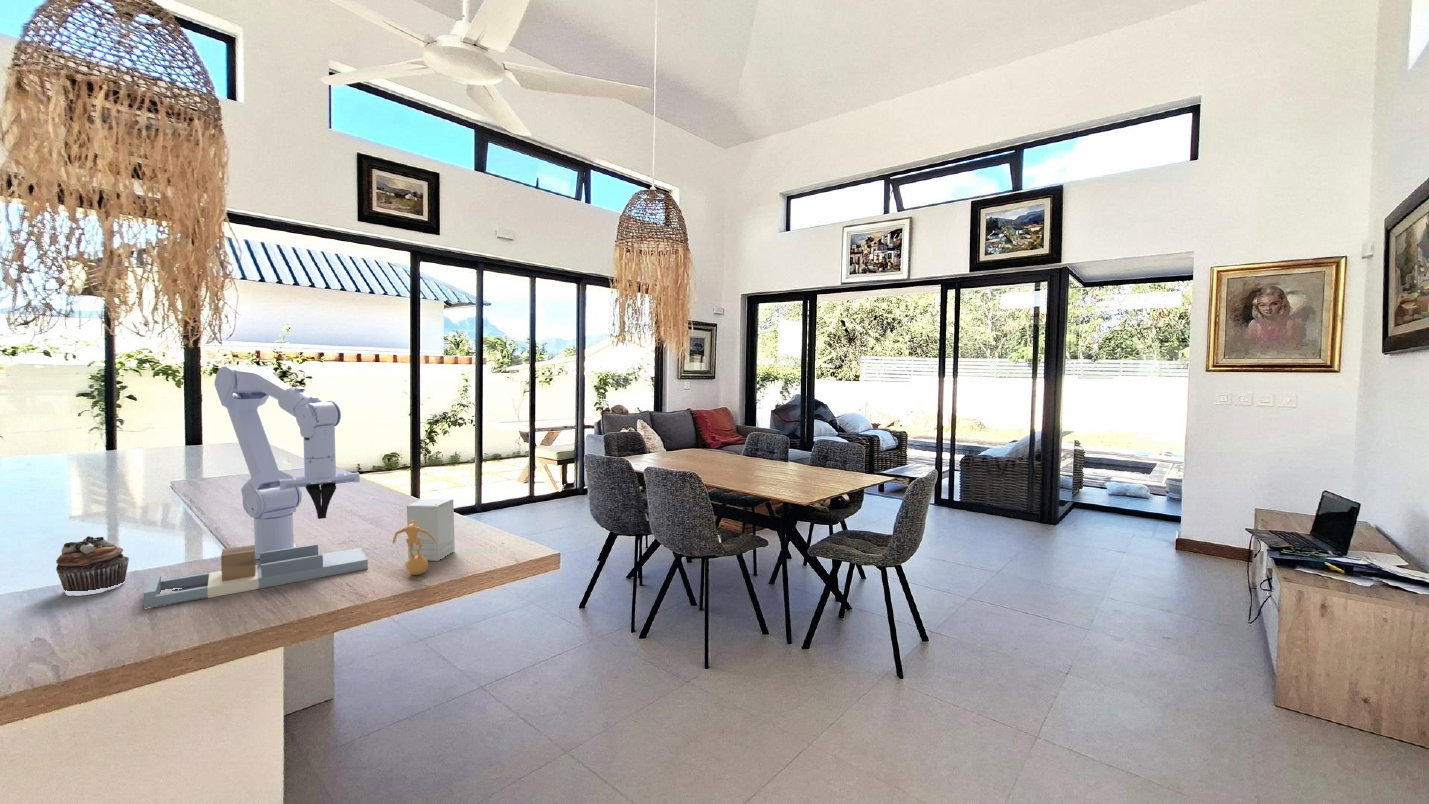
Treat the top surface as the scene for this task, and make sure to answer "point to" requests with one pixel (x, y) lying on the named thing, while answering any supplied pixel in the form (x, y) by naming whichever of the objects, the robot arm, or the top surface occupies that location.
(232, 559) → the block
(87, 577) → the cupcake
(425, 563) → the figurine
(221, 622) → the top surface
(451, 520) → the supplement box
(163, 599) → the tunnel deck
